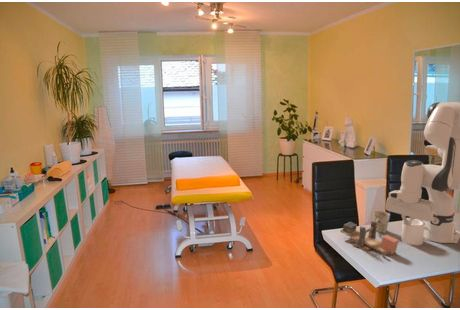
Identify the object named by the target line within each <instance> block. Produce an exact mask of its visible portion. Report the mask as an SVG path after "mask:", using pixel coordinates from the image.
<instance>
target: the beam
mask: <svg viewBox="0 0 460 310" xmlns="http://www.w3.org/2000/svg"><path fill="white" fill-rule="evenodd" d="M357 226H358V224H357V223H354V222H352V221H348V222H347V223H344V224H343V228H342V229H340V233H341V234H343V235H346V236H347V237H349V238H352V239H354V240H356V241H357V242H359V234H360V230H357ZM372 229H374V228H373V227H371V226H370V227H369V228H366V230H365V244H366V245H368V246H370V247H372V248H373V249H374V250H376V251H378V252H379V253H382V254H383V251H386V250H384V249H382V248H380V247H381V242H382V241H379V240H378V239H373V238H371V234H372ZM367 233H368V235H367ZM390 254H391V253H390V252H388V251H386V255H385V256H388V255H390Z"/></svg>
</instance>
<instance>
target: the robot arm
mask: <svg viewBox="0 0 460 310" xmlns="http://www.w3.org/2000/svg"><path fill="white" fill-rule="evenodd" d="M426 116H427V122H426V124H425V127H424V130H423V135H424V136H423V137H424V138H425V140H426V141H427V142H428V143H429V144H431V145H432V146H434V147H436V148H437V155H438V156H439V157H440V158H441V160H442V161H441V165H438V164H424V163H423V162H422V161H421V160H416V159H412V160H405V162H404V164H403V166H402V170H401V176H400V181H401V185H400V187H399V189H397V190H396V189H395V190H391V191H390V192H388V197H387V199H386V202H385V209H386V212H387V211H388V212H392V213H395V214H398V215H401V218H402V223H403V224H405V225H409V226H411V223H412V221H413V220H414V219H418V220H421V221H423V222H424V223H425V227H429V228H430V230H431V239H430V240H429V241H432V242H435V243H441V244H458V243H459V241H460V231H459V230H457V228H458V224H457V223H456V222H455V220H454V219H455V218H454V217H455V214H456V212H455V211H454V205H455V200H454V198H453V197H452V196H451V195H450V194H449V193H448V192H446V191H447V190H455V191H460V102H459V101H449V102H446V101H445V102H440V101H438V102H434V103H431V104H430V105H429V107H428V108H427V112H426ZM422 188H425V189H426V191H427V194H428V199H424V198H422V192H423V189H422ZM407 217H408V218H410V219H411V220H410V221H408V220H407V219H406V218H407ZM403 221H404V222H403ZM429 236H430V233H429V230H426V229H424V237H423V238H429Z"/></svg>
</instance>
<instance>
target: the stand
mask: <svg viewBox="0 0 460 310" xmlns="http://www.w3.org/2000/svg"><path fill="white" fill-rule="evenodd" d="M376 226H377V222H375V221H374V220H371V221H370V227H373V228H374V229H372V234H371V238H373V239H376V237H377V231H376ZM365 230H367V227H365V226H361V225H360V227H359V232H360V234H359V241H357V242H355V243H354V244H353V245H352V246H353V247H355V248H357V249H360V250H363V251H365V252H369V251H371V250H373V249H374V248H372V247H370V246H368V245H366V244H365ZM376 240H377V239H376ZM381 256H382V258H386V256H387V255H386V251H383V253H382V255H381Z"/></svg>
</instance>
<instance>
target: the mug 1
mask: <svg viewBox="0 0 460 310" xmlns="http://www.w3.org/2000/svg"><path fill="white" fill-rule="evenodd" d="M390 217H391V213H389V212H387V211H382V210H381V211H380V210H378V211H377V210H376V211H374V212H373V221H375V222H377V226H376V233H377V232H378V233H381V234H382V233H383V234H384V233H386V232H387V230H388V227H389V226H388V225H389V222H390Z"/></svg>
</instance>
